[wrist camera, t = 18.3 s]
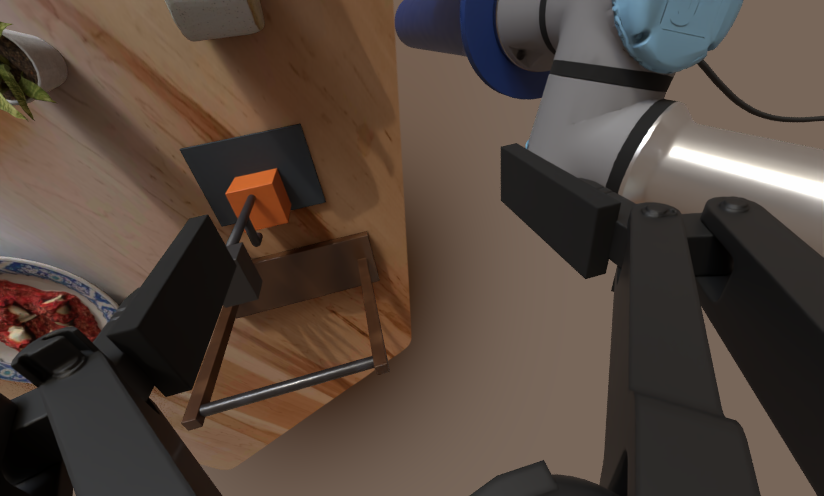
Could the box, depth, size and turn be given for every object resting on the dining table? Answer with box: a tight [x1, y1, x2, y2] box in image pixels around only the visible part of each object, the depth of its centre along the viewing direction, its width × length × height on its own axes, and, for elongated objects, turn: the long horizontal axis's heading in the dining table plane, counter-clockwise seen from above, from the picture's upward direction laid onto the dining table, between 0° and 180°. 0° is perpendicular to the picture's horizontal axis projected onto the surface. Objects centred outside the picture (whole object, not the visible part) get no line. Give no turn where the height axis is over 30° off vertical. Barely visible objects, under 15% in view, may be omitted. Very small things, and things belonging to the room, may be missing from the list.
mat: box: [180, 124, 326, 227], centre depth 49 cm, size 16×12×1 cm
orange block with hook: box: [223, 168, 291, 308], centre depth 41 cm, size 6×6×22 cm
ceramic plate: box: [0, 256, 119, 383], centre depth 52 cm, size 26×26×3 cm
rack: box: [181, 231, 390, 430], centre depth 49 cm, size 26×10×24 cm, turn 99°
